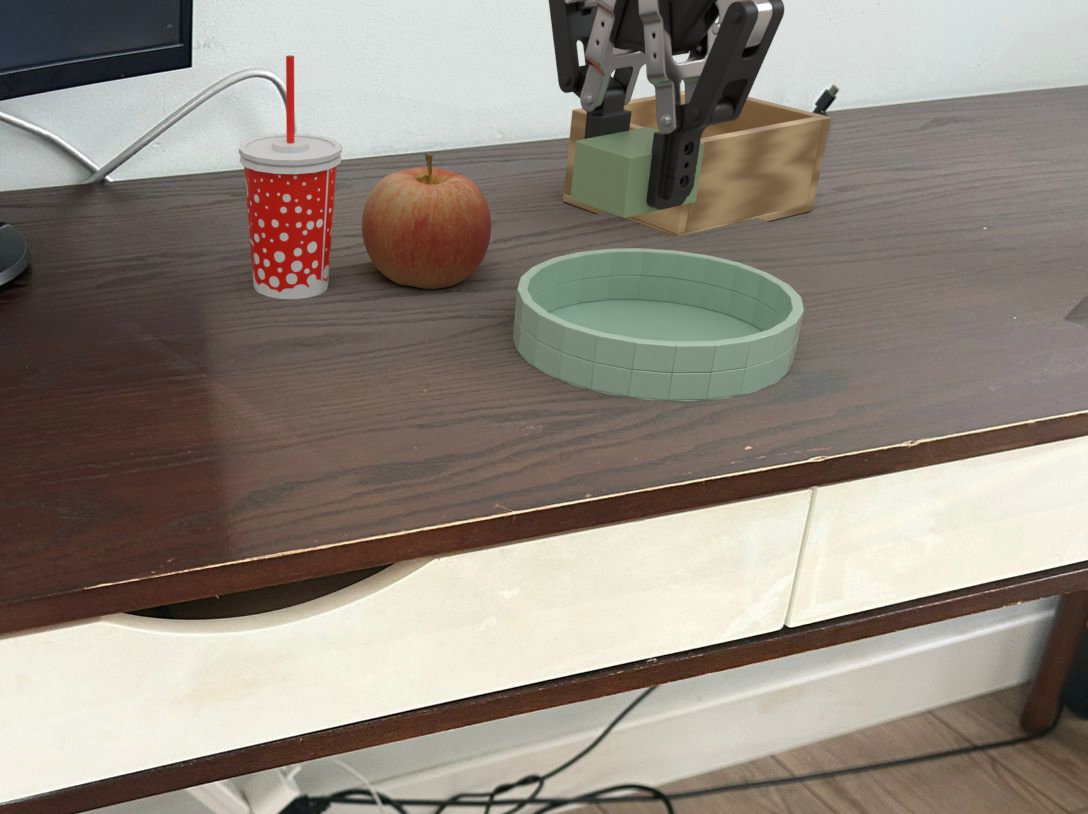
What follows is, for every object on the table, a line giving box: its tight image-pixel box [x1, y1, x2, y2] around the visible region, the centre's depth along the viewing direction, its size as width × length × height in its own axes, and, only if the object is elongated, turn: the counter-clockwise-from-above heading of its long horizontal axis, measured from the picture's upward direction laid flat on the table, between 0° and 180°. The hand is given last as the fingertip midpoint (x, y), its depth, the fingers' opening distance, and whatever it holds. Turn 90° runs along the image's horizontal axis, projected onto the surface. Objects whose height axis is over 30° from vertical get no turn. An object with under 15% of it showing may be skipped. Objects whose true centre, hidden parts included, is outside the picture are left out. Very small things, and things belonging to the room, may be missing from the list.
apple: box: [361, 152, 492, 290], centre depth 84 cm, size 8×8×8 cm
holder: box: [562, 90, 832, 238], centre depth 98 cm, size 14×12×7 cm
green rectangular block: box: [571, 127, 704, 219], centre depth 70 cm, size 5×4×3 cm
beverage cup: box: [238, 54, 343, 300], centre depth 82 cm, size 6×6×14 cm
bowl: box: [512, 247, 805, 402], centre depth 76 cm, size 15×15×4 cm
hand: (633, 193), depth 70 cm, fingers closed on green rectangular block, 4 cm apart
